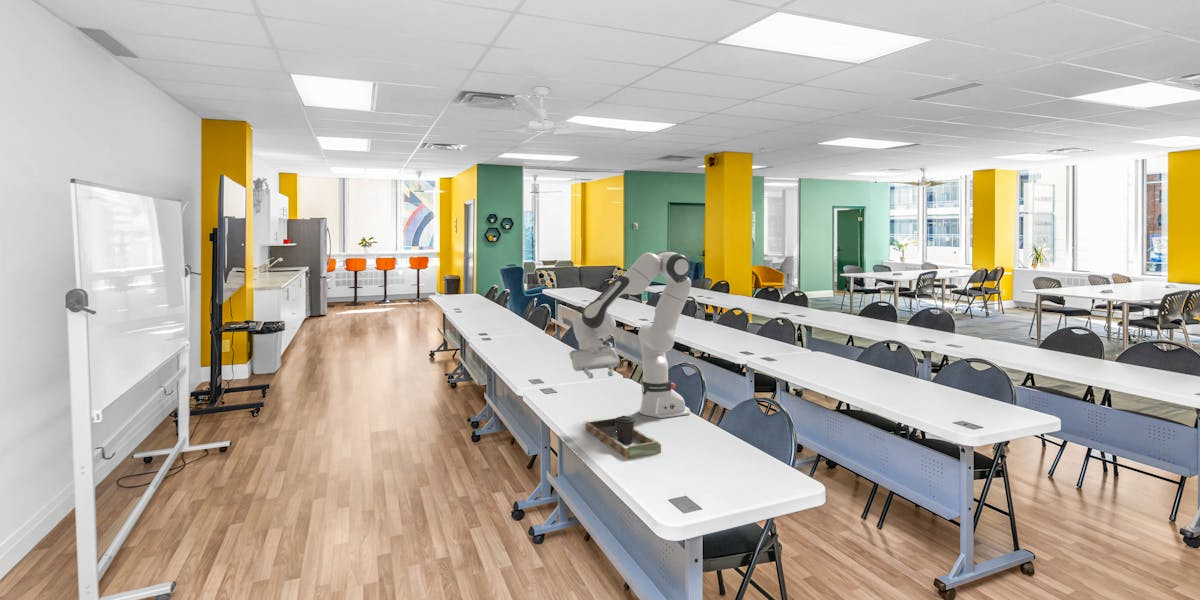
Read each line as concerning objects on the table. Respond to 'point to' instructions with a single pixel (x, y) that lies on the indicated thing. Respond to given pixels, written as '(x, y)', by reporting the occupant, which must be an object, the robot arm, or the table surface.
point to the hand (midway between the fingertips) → (601, 376)
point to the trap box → (631, 451)
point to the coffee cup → (625, 429)
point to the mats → (609, 430)
